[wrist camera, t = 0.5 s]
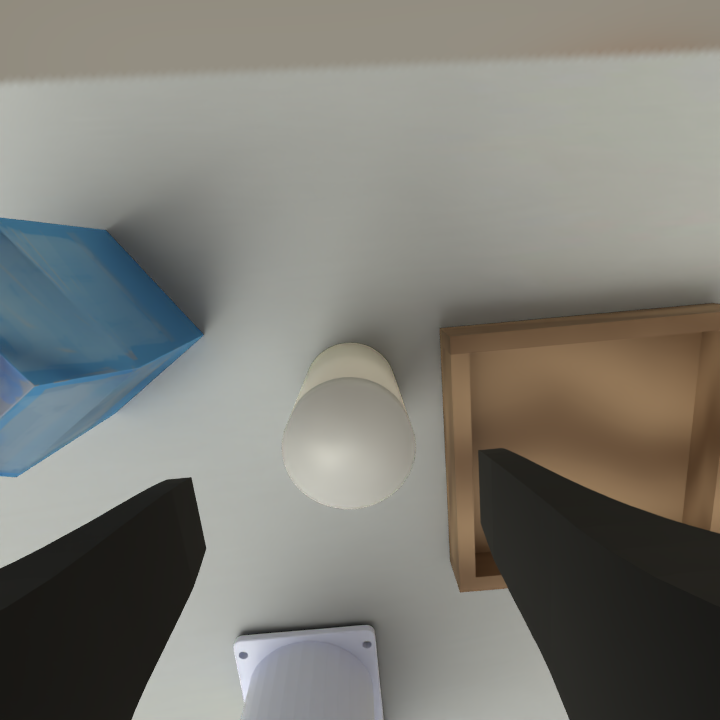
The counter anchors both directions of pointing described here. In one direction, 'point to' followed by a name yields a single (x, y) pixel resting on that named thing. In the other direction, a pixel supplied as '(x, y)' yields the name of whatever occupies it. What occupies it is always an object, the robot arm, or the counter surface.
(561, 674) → the robot arm
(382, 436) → the cylinder
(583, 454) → the walnut tray
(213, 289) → the counter surface
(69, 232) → the perfume bottle
